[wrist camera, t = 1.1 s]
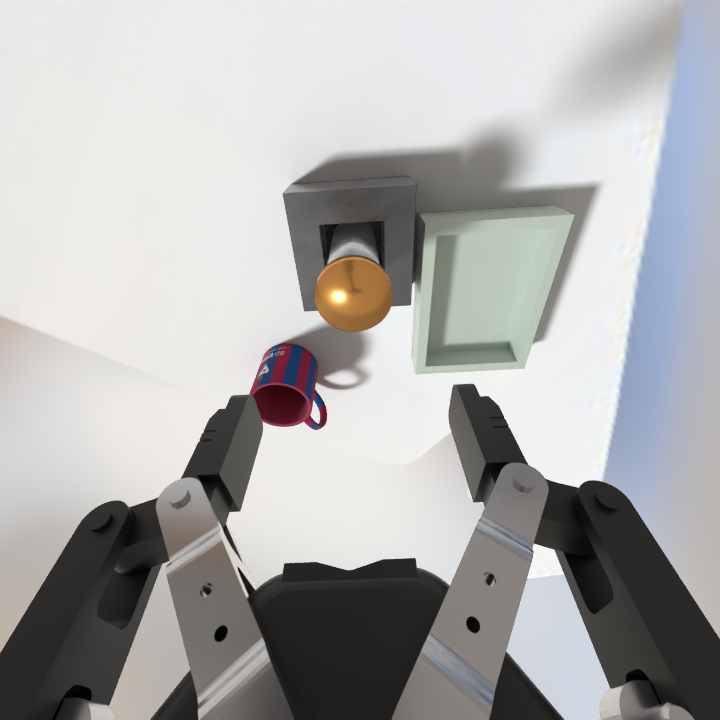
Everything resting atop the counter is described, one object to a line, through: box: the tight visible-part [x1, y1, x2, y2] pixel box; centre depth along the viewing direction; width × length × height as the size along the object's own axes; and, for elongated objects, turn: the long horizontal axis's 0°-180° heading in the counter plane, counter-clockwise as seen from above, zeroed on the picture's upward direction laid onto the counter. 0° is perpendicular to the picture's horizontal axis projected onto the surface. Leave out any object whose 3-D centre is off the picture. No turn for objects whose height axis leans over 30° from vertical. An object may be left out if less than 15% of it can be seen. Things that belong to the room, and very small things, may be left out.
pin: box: [315, 222, 393, 332], centre depth 25 cm, size 5×5×12 cm
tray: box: [411, 205, 575, 374], centre depth 32 cm, size 16×12×3 cm
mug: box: [249, 344, 327, 430], centre depth 37 cm, size 7×10×7 cm
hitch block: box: [283, 176, 416, 311], centre depth 28 cm, size 10×10×4 cm
